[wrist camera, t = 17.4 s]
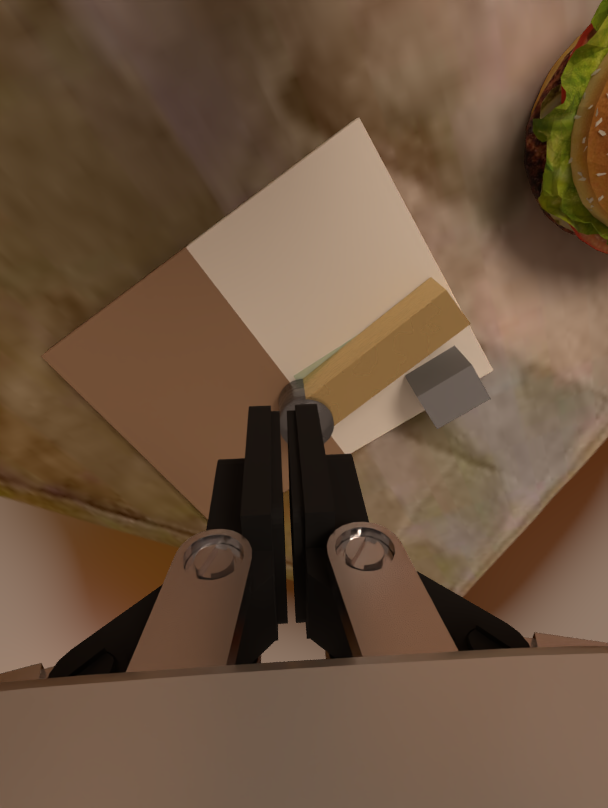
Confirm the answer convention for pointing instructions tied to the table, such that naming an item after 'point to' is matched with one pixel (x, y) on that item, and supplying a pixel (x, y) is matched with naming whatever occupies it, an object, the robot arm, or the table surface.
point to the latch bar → (376, 356)
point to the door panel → (268, 321)
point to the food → (574, 137)
